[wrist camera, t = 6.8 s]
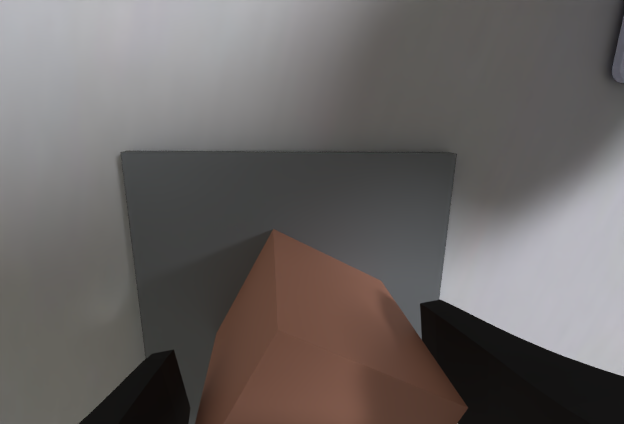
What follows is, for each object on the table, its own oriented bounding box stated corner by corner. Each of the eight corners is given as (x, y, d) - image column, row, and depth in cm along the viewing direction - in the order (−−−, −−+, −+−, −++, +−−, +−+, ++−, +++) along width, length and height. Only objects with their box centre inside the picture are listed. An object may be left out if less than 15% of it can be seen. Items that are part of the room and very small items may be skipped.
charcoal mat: (449, 152, 13) (456, 154, 12) (420, 404, 16) (425, 413, 15) (126, 150, 11) (120, 152, 11) (159, 426, 14) (155, 437, 14)
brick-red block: (381, 280, 13) (468, 407, 7) (322, 374, 14) (360, 555, 8) (273, 228, 12) (277, 329, 6) (216, 333, 13) (175, 506, 7)
